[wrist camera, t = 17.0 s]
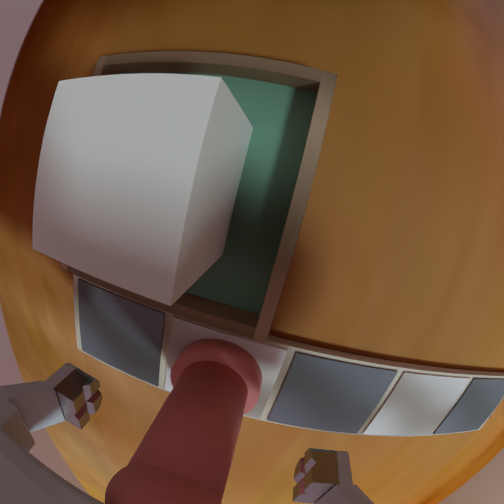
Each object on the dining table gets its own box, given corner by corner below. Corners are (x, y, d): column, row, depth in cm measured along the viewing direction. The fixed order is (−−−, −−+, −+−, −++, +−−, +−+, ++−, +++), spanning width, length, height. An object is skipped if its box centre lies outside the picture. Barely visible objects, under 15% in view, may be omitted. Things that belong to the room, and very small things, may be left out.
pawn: (183, 326, 11) (57, 495, 3) (272, 353, 11) (236, 566, 2) (174, 389, 12) (93, 530, 4) (250, 412, 12) (211, 574, 3)
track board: (79, 269, 12) (72, 272, 12) (514, 372, 10) (518, 376, 10) (82, 345, 14) (76, 349, 13) (477, 425, 12) (479, 430, 11)
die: (139, 112, 10) (59, 81, 5) (253, 127, 10) (220, 76, 5) (116, 224, 11) (32, 248, 6) (222, 254, 11) (171, 305, 6)
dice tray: (116, 66, 10) (99, 56, 8) (331, 88, 9) (337, 74, 8) (79, 260, 12) (60, 268, 11) (269, 324, 11) (265, 342, 10)
